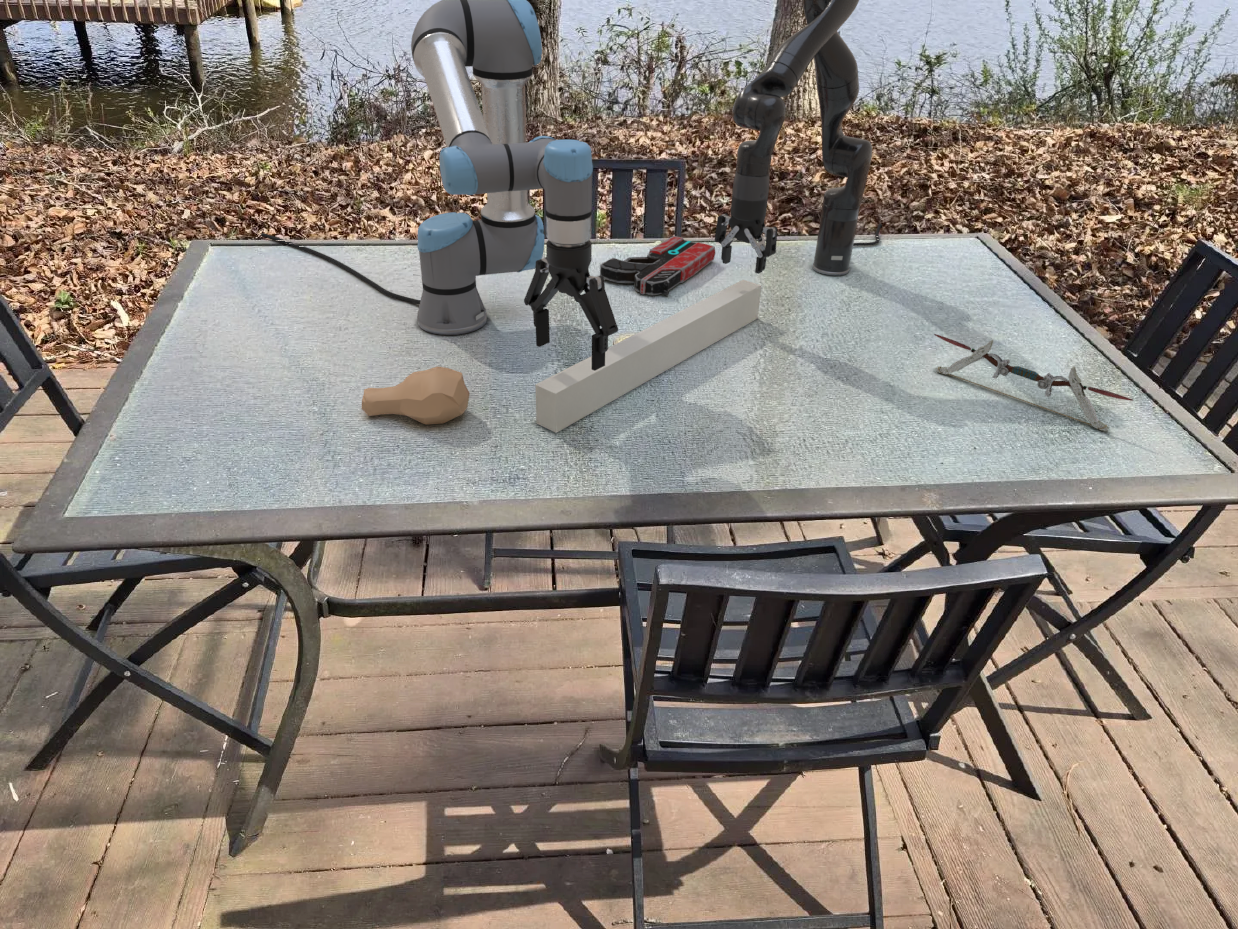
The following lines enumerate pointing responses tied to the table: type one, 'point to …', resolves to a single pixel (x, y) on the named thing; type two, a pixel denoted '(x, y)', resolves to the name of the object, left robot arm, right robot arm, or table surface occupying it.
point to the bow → (1043, 382)
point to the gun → (660, 266)
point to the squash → (421, 397)
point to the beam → (644, 356)
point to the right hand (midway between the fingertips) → (742, 267)
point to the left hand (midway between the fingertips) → (570, 355)
